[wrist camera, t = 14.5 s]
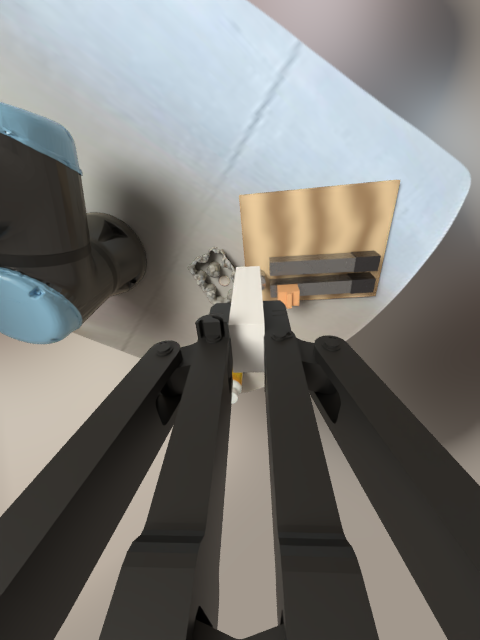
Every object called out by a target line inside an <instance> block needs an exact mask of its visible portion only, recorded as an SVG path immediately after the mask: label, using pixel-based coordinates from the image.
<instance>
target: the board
mask: <svg viewBox="0 0 480 640" xmlns="http://www.w3.org/2000/svg"><path fill="white" fill-rule="evenodd" d="M399 184H400V180H389V181H378V182H368V183H358V184H348V185H338V186H327V187H317V188H307V189H297V190H287V191H276V192H266V193H256V194H246V195H239V201H240V212H241V224H242V235H243V247H244V258H245V267H250V266H260V269H261V270H263V271H264V272H265V278H266V287H265V288H264V289H263V290H262V300H263V301H272V300H277V297H274V298H271V295H270V279H277V278H292V277H308V276H323V275H338V274H347V273H361V272H337V273H318V274H299V275H280V276H270V271H269V257H283V256H300V255H317V254H334V253H350V252H357V251H373V250H374V251H376V252H377V253H378V254H379V255H381V258H380V263H379V267H378V271H369V272H370V273H371V274H372V275H373V276H374V277H375V278H376V282H375V287H374V291H373V293H355V294H350V293H342V294H325V295H308V296H299V300H313V299H331V298H349V297H366V296H376V291H377V286H378V282H379V277H380V272H381V268H382V263H383V259H384V254H385V249H386V245H387V240H388V235H389V231H390V226H391V221H392V217H393V212H394V207H395V203H396V198H397V194H398V189H399Z"/></svg>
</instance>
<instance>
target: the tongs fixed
mask: <svg viewBox="0 0 480 640" xmlns="http://www.w3.org/2000/svg"><path fill="white" fill-rule="evenodd" d="M260 275H261V287H262V290H263V289H264V288H265V287H266V278H265V272H264V271H263V270H261V269H260ZM375 282H376V278H375V277H374V276H373V275H372V274H371V273H370V272H361V273H347V274H338V275H323V276H308V277H292V278H277V279H270V295H271V298H274V297H277V285H287V284H297V285H298V288H299V291H300V294H299V296H308V295H325V294H342V293H350V294H355V293H373V291H374V287H375Z"/></svg>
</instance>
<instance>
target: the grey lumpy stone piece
mask: <svg viewBox="0 0 480 640" xmlns="http://www.w3.org/2000/svg"><path fill="white" fill-rule="evenodd" d="M212 250H213V251H214V252H215V253H218V254H219V253H222V254H223V259H222V266H223V267H226V268H232V274H231V276H232V277H231V279H232V280H233V283H234V279H235V267H234V266H233V265H232V264H231V263H230V262H229V260H228V259H227V258H226V256H225V252H224V251H223V249H221V250H219V249H218V248H217V247H216V248H215V247H212V248H211V249H210V250H209V252H208V254H205V255H203V256H202V257H201V256H198V257H197V258H196V259H195V260H194V261H193V262H192V263H191V264H190V265H189V266H188V267H187V268H188V270H189V271H190V272H191V274H192V275H193V276H194V278H195V280H197V283H198V285H199V286H200V287H201V289H202V290H203V292H204V293H205V294H206V296H207V298H208V299H209V301H210V302H211V303H212V304H213V305H215V304H216V303H227V302H230V301H231V300H232V294H233V289H230V290H229V291H228V295H227V297H226V298H224V297H222V296H218V297H217V296H216V295H215V293H216V286H215V285H214V284H207V283H206V282H205V280H206V277H207V274H206V272H205V271H203V270H197V269H196V268H195V265H196V263H197V262H199V263H202V262H203V263H206V262H208V259H209V257H210V254H211V252H210V251H212ZM220 268H221V267H220V264H219V263H218V262H215V261H214V262H211V263H210V264H209V267H208V269H207V273H208V276H210V277H213V278H215V277H218V276H219V272H220ZM219 283H220V284H221V285H222V286H227V285H229V283H230V279H229V278H228V277H227V276H221V277H220V278H219Z"/></svg>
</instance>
